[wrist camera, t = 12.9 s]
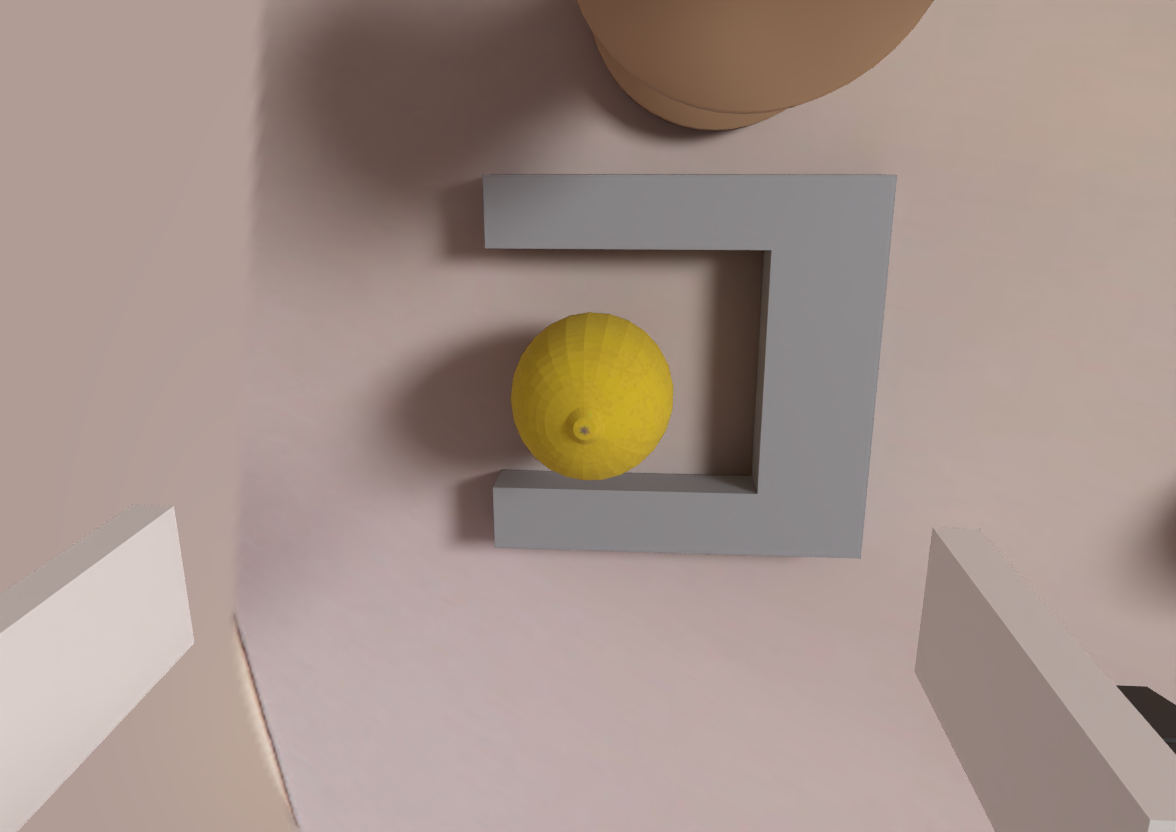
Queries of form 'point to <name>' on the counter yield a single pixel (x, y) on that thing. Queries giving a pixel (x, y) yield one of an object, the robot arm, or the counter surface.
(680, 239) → the notch board
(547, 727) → the counter surface
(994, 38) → the counter surface
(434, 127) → the counter surface
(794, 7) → the bobbin
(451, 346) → the counter surface
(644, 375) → the lemon
